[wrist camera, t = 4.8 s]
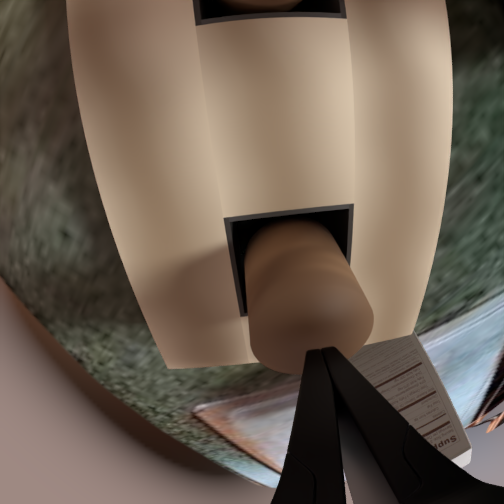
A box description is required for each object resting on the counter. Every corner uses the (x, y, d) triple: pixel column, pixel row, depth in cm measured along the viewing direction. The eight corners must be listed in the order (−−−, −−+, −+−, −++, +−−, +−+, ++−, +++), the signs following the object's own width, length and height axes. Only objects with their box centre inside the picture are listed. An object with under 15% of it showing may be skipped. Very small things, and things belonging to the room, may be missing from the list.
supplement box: (420, 351, 25) (471, 463, 14) (353, 387, 27) (386, 503, 16) (404, 308, 22) (476, 447, 11) (322, 353, 24) (360, 501, 13)
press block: (370, -81, 8) (411, -114, 3) (382, 283, 20) (411, 334, 16) (108, -64, 8) (70, -99, 3) (178, 309, 20) (168, 369, 16)
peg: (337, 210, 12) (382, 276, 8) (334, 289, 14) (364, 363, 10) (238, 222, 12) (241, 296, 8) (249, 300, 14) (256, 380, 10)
